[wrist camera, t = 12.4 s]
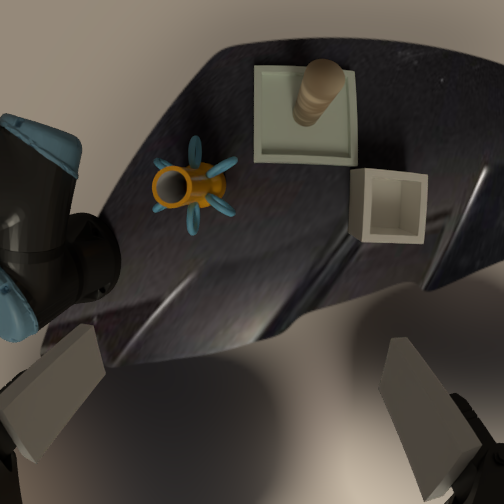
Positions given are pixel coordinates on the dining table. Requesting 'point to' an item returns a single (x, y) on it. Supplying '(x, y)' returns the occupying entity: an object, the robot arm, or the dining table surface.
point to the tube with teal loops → (192, 185)
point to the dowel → (317, 90)
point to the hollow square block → (387, 206)
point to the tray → (294, 135)
